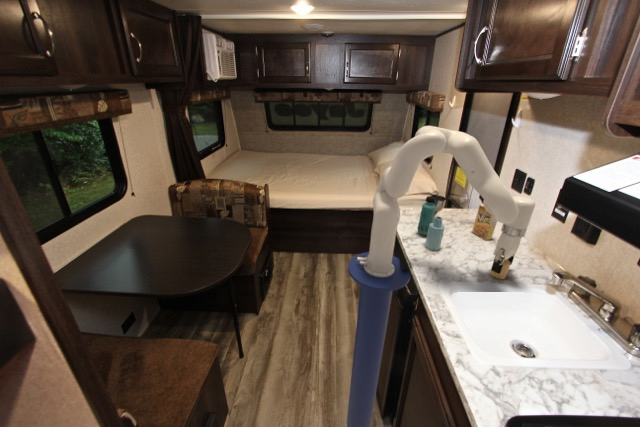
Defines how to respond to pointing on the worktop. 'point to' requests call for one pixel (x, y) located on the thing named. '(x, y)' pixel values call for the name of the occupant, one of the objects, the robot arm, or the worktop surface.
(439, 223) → the water bottle
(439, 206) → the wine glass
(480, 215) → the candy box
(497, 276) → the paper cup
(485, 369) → the worktop surface
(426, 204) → the beverage bottle
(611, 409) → the worktop surface
